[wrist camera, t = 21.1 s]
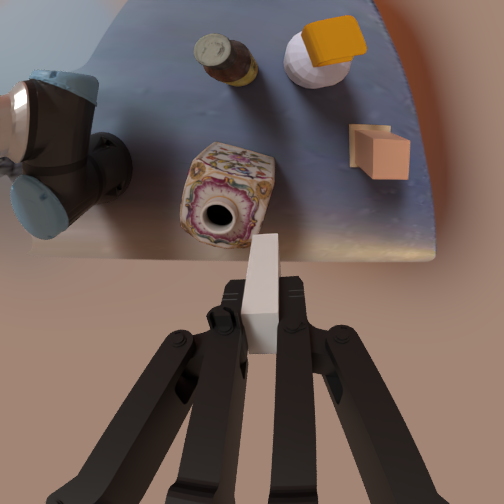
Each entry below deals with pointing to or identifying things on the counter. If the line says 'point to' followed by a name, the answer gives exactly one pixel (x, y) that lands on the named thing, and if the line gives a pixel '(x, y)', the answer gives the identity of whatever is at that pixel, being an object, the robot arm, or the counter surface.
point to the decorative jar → (227, 195)
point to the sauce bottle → (226, 59)
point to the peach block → (382, 154)
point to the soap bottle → (323, 52)
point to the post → (352, 137)
